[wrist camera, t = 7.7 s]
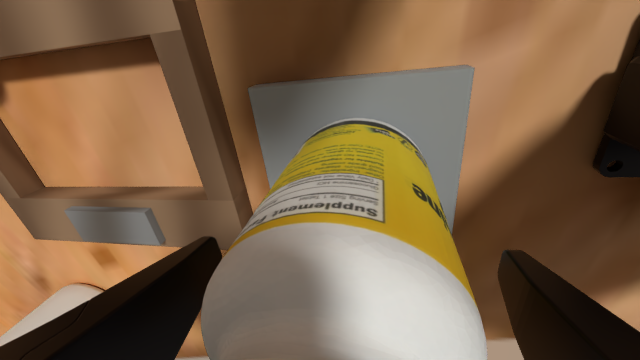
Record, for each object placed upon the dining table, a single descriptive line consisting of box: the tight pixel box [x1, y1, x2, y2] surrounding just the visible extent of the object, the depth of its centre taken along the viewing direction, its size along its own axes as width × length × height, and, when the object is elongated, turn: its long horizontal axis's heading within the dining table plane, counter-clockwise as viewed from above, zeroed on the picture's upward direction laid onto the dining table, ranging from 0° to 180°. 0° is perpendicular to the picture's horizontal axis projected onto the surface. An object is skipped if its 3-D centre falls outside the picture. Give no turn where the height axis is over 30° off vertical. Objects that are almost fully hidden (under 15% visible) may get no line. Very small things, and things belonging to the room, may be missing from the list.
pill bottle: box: [201, 118, 487, 360], centre depth 8 cm, size 6×6×11 cm
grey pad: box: [248, 65, 474, 234], centre depth 13 cm, size 9×9×1 cm
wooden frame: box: [0, 0, 253, 250], centre depth 14 cm, size 17×15×4 cm
